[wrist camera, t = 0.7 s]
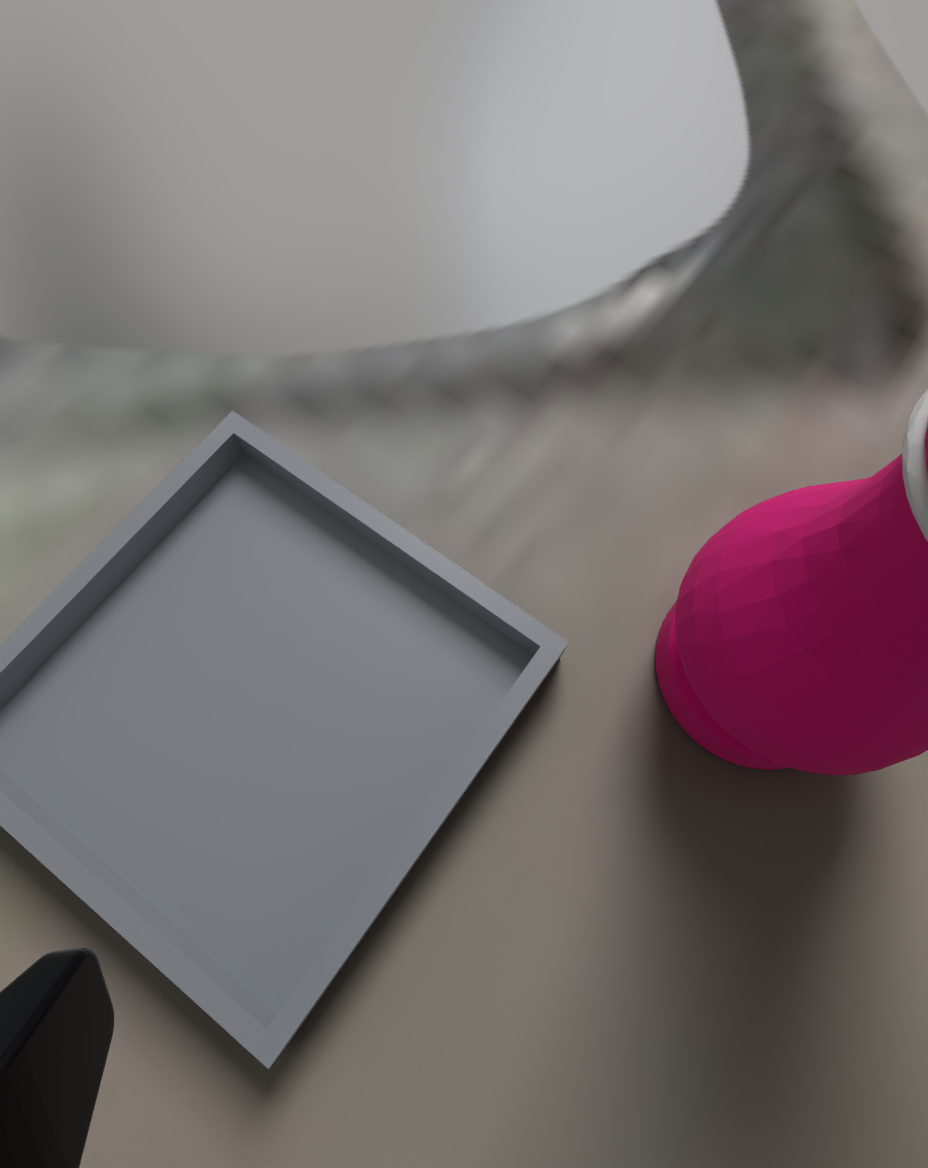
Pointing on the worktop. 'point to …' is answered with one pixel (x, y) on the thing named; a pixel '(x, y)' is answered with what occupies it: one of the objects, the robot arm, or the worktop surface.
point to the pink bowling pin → (810, 626)
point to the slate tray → (254, 724)
